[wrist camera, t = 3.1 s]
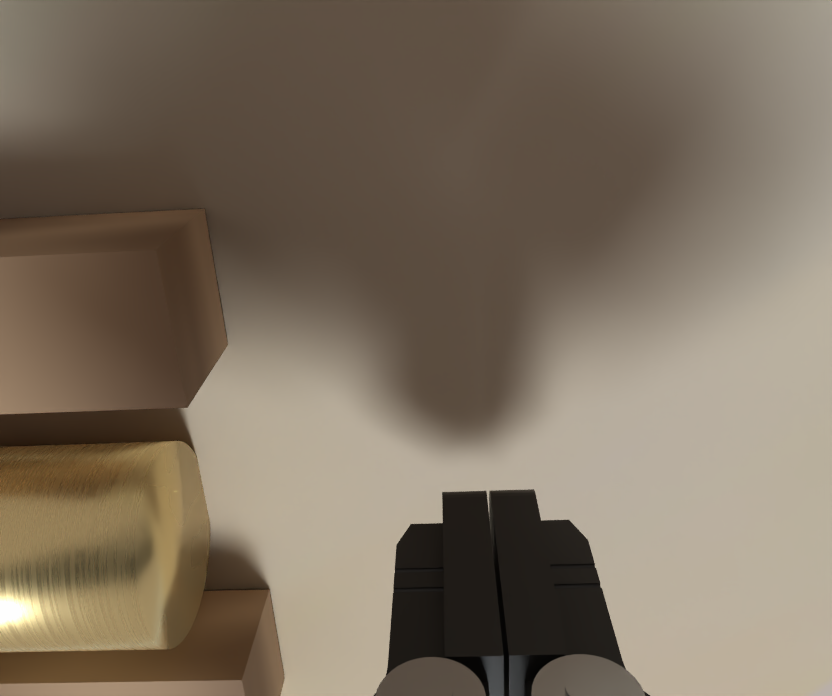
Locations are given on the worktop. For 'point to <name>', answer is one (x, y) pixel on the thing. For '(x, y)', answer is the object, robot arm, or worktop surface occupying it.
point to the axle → (100, 546)
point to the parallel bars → (125, 390)
